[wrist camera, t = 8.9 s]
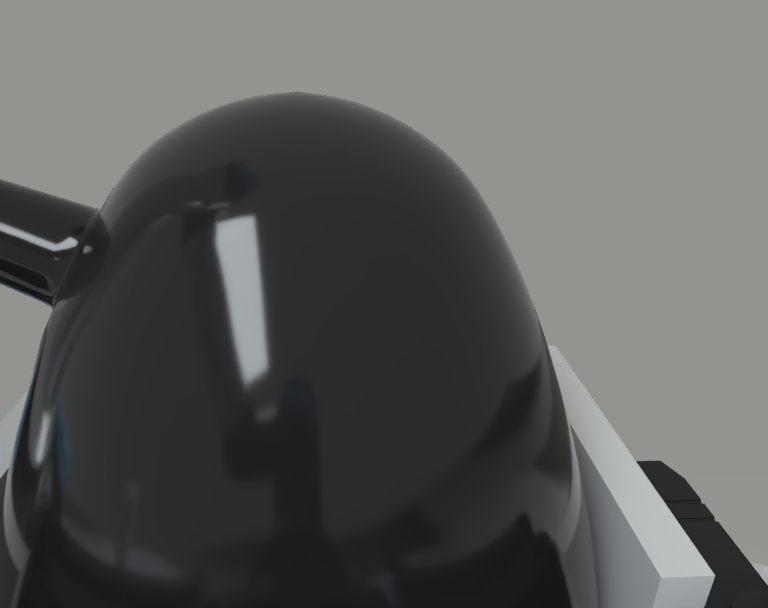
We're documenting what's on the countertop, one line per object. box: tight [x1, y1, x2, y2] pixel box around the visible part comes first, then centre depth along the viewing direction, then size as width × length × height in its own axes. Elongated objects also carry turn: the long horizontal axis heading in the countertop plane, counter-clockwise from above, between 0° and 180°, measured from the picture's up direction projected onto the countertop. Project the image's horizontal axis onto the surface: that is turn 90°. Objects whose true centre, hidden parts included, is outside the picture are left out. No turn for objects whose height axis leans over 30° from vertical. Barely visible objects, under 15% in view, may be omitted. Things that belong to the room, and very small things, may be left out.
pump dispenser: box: [0, 92, 599, 608], centre depth 10 cm, size 10×10×15 cm
